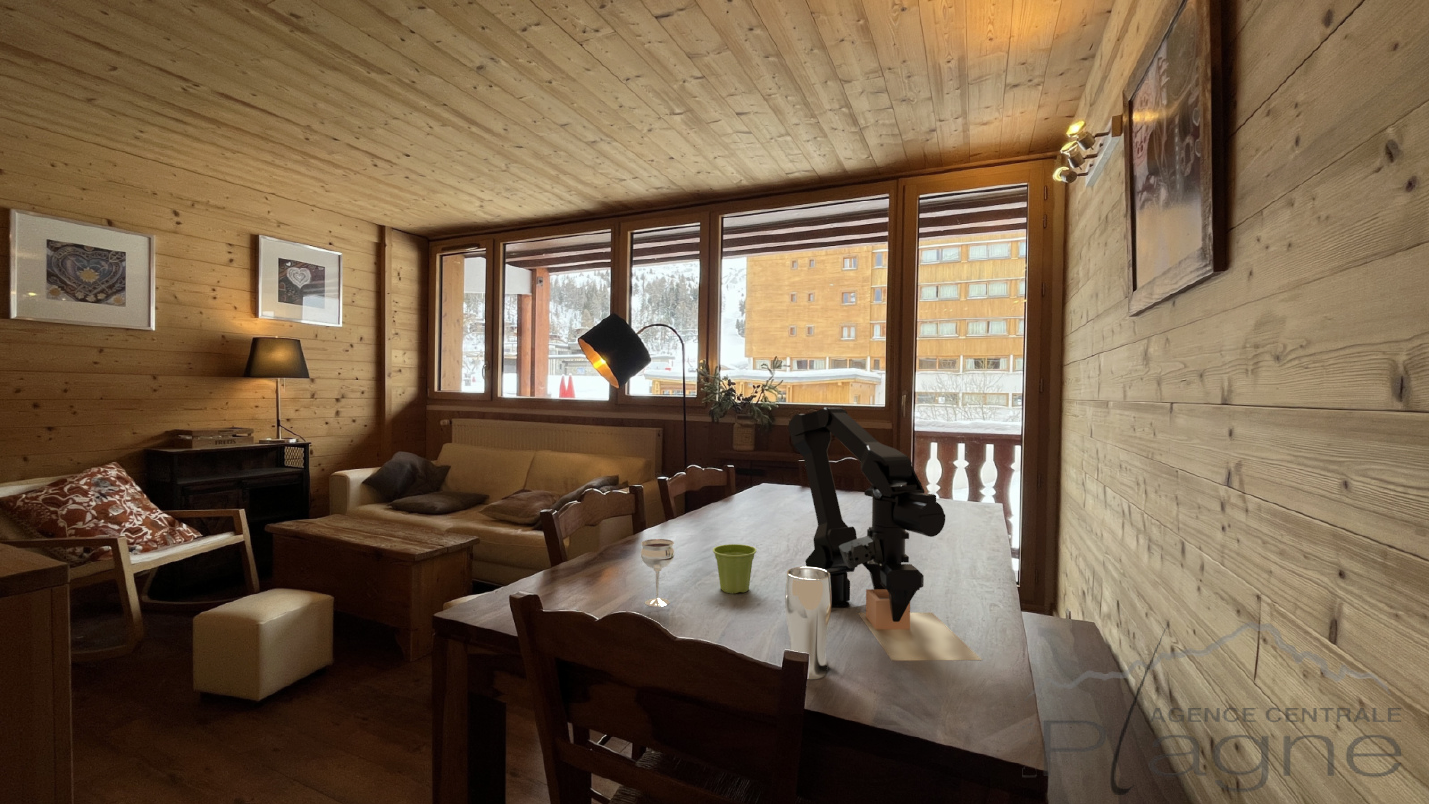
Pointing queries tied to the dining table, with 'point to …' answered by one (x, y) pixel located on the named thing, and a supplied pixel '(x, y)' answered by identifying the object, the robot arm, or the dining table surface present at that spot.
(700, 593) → the dining table surface
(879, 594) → the collar
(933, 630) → the post board
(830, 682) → the dining table surface
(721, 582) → the plant pot
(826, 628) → the beer glass
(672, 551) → the wineglass
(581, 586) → the dining table surface
